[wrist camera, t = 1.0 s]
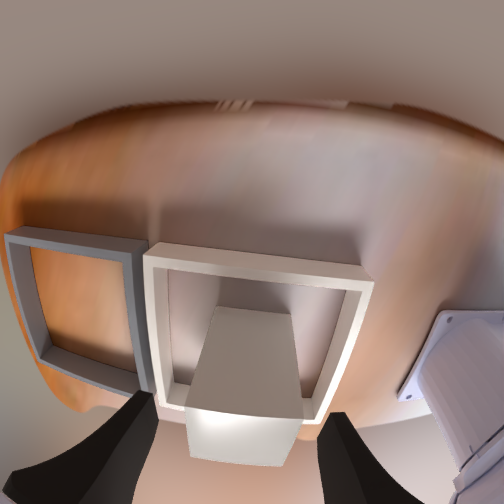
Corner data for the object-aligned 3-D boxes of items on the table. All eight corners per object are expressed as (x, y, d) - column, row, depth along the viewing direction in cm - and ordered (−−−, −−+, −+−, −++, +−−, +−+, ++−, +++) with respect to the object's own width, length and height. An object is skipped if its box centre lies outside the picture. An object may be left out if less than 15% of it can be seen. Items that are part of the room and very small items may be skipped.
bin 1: (148, 240, 13) (131, 253, 11) (159, 383, 17) (151, 403, 15) (23, 225, 14) (3, 233, 12) (50, 348, 17) (38, 361, 15)
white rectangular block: (290, 314, 14) (304, 418, 8) (279, 368, 16) (282, 466, 9) (216, 305, 14) (184, 406, 8) (213, 360, 16) (190, 456, 9)
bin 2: (361, 265, 13) (374, 281, 11) (316, 402, 17) (319, 423, 15) (158, 241, 13) (142, 254, 11) (167, 385, 17) (159, 405, 15)
